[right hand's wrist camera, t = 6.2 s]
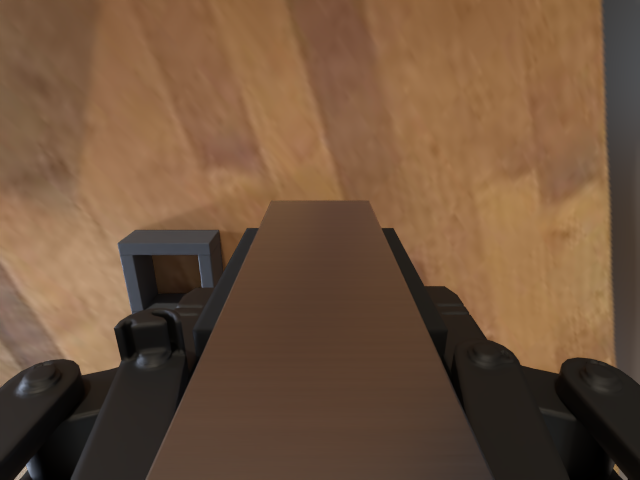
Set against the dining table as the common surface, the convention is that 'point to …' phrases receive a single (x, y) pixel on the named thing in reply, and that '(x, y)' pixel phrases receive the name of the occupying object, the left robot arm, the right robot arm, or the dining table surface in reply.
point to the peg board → (166, 242)
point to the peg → (320, 366)
